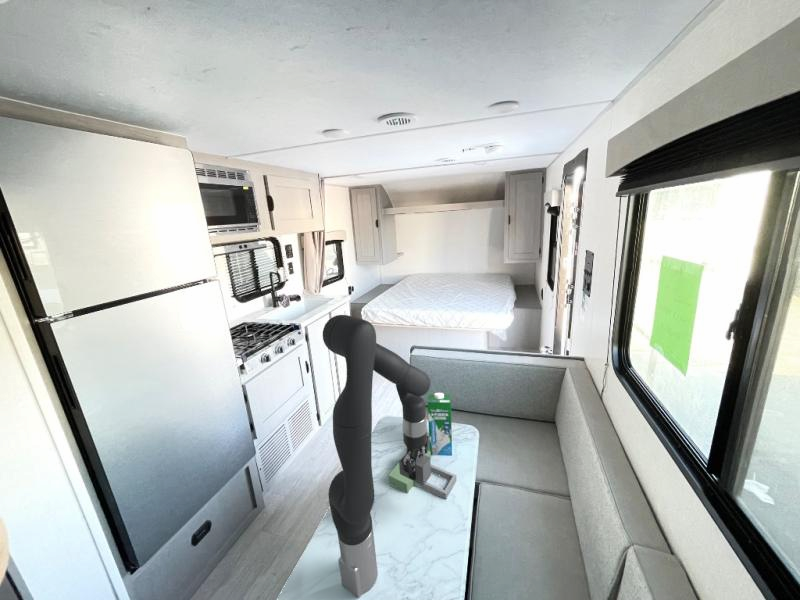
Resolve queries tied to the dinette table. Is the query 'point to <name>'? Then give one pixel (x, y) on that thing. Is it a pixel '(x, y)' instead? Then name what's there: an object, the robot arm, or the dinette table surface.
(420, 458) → the grey stepped block
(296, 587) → the dinette table surface
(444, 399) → the milk carton
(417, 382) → the robot arm
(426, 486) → the multicoloured piece
